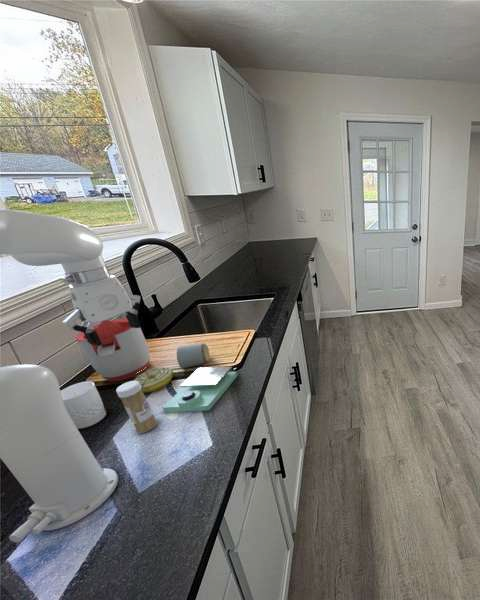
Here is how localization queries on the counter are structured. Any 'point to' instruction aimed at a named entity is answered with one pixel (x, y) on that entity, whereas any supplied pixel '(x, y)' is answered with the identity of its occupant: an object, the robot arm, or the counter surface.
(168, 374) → the decorated donut
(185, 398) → the tare button
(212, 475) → the counter surface
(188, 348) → the ceramic mug
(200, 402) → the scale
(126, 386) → the sprinkles bottle
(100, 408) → the white cup
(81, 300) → the robot arm
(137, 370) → the citrus juicer
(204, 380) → the scale pan
